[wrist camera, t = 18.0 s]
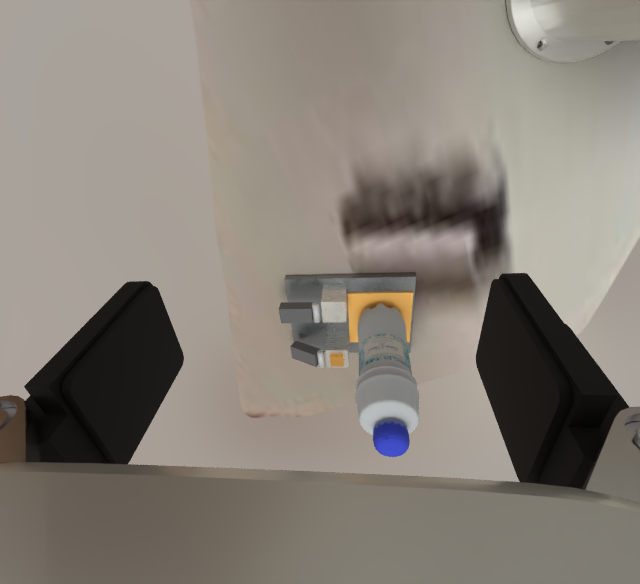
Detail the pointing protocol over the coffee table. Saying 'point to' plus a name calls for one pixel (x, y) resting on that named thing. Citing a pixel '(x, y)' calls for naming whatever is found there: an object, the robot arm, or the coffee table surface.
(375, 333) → the bottle
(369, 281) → the panel
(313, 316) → the lever
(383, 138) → the coffee table surface
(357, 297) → the pad
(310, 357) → the lever
